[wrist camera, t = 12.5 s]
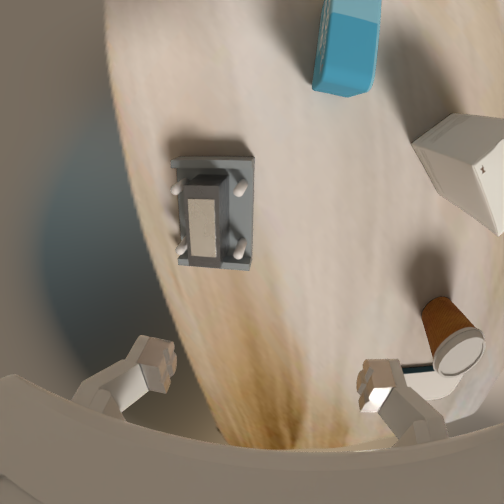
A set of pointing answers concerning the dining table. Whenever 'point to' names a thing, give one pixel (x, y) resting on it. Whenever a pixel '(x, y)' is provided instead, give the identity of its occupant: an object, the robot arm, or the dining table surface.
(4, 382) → the robot arm
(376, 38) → the data package
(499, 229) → the supplement box
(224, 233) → the block
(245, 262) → the tray
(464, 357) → the disposable coffee cup
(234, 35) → the dining table surface
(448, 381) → the white teal rounded slab
